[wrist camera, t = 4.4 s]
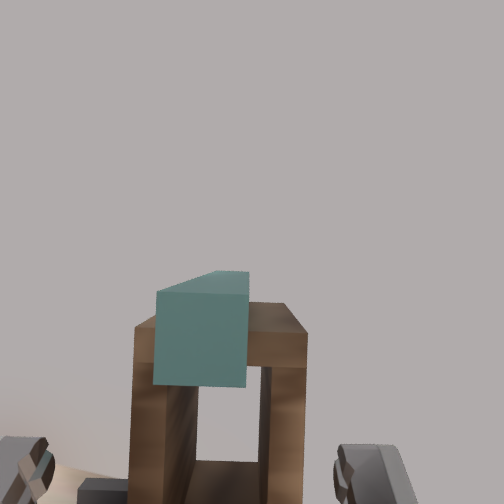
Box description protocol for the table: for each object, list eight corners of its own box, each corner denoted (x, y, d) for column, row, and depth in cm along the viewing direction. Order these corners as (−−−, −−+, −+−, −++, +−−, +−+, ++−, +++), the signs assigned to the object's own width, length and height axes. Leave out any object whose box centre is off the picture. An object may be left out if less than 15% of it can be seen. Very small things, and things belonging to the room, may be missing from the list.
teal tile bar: (248, 304, 32) (249, 271, 32) (245, 387, 11) (249, 294, 11) (215, 303, 32) (216, 270, 32) (152, 384, 11) (156, 291, 11)
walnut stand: (274, 574, 34) (284, 303, 34) (292, 796, 20) (307, 333, 20) (170, 571, 34) (181, 299, 34) (115, 792, 20) (134, 327, 20)
